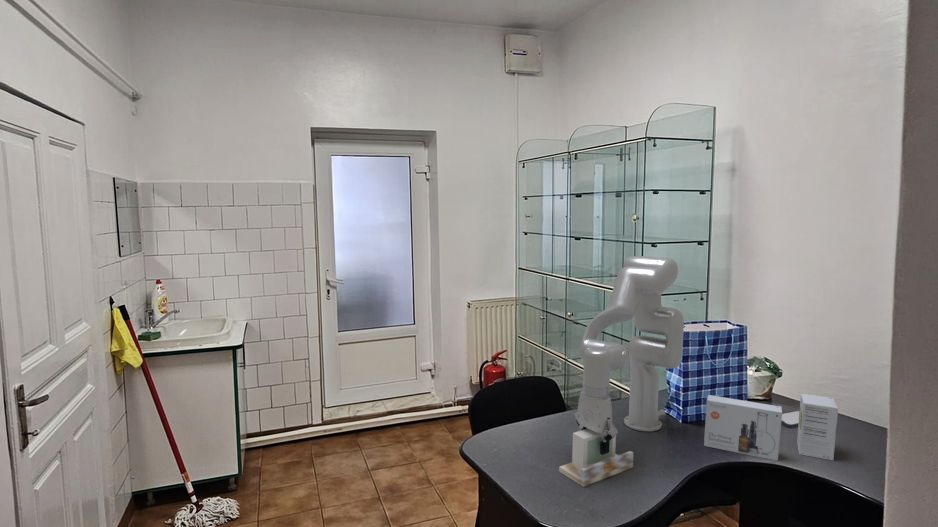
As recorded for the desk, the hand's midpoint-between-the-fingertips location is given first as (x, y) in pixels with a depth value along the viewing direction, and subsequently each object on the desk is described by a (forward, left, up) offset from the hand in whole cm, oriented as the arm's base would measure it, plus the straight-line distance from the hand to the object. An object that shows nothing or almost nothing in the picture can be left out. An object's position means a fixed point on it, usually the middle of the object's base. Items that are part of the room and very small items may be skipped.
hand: (594, 447), depth 163 cm
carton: (0, 0, -5) cm, 5 cm away
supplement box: (-66, +30, -7) cm, 73 cm away
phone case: (-85, +14, -7) cm, 87 cm away
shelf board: (0, +1, -6) cm, 6 cm away
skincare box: (-47, +17, -7) cm, 50 cm away
